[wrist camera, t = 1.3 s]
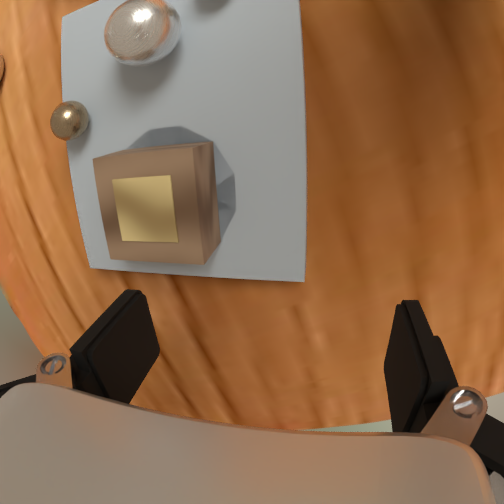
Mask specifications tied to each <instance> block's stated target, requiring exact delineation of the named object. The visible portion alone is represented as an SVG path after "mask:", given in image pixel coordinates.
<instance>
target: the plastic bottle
mask: <svg viewBox="0 0 504 504" xmlns="http://www.w3.org/2000/svg"><path fill="white" fill-rule="evenodd" d="M3 71H4V59H3V56H2V55H1V54H0V81H1V79H2V76H3Z"/></svg>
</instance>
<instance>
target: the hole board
mask: <svg viewBox="0 0 504 504" xmlns="http://www.w3.org/2000/svg"><path fill="white" fill-rule="evenodd" d="M126 1H127V0H100V1H97V2H95V3H92V4H90V5H88V6H85V7H83V8H81V9H78V10H76V11H74V12H72V13H70V14H68V15H66V16H64V17H62V33H61V74H62V97H63V102H66V101H71V100H73V101H78V102H80V103H82V104H83V105H84V106H85V107H86V109H87V111H88V114H89V122H88V126H87V128H86V130H85V131H84V133H83V134H82V135H81V136H79V137H78V138H76V139H74V140H69V141H66V142H67V151H68V158H69V166H70V172H71V179H72V185H73V191H74V196H75V202H76V207H77V212H78V217H79V222H80V227H81V231H82V236H83V240H84V244H85V249H86V253H87V257H88V261H89V265H90V268H96V269H108V270H120V271H133V272H146V273H159V274H173V275H188V276H203V277H219V278H236V279H254V280H273V281H293V282H304V281H305V272H306V247H307V131H306V98H305V74H304V55H303V38H302V24H301V10H300V0H166V1H167V2H169V3H170V4H171V5H172V6H173V7H174V8H175V9H176V11H177V12H178V14H179V16H180V20H181V34H180V38H179V40H178V43H177V44H176V46H175V48H174V49H173V50H172V51H171V52H170V54H169V55H167V56H166V57H165V58H164V59H162V60H160V61H159V62H157V63H154V64H151V65H148V66H142V67H134V66H128V65H125V64H122V63H120V62H118V61H117V60H115V59H114V58H113V57H112V56H111V55H110V53H109V52H108V50H107V48H106V46H105V42H104V28H105V25H106V22H107V20H108V18H109V16H110V15H111V13H112V12H113V11H114V10H115V9H116V8H117V7H118V6H119V5H121V4H122V3H124V2H126ZM211 141H213V147H214V162H215V175H216V189H217V201H218V214H219V226H220V237H221V242H220V244H219V245H218V246H217V248H216V249H215V251H214V252H213V253H212V255H211V256H210V257H209V259H208V260H207V262H206V263H205V264H204V265H197V264H179V263H161V262H144V261H128V260H112V259H110V255H109V250H108V246H107V241H106V237H105V232H104V227H103V222H102V216H101V211H100V205H99V200H98V194H97V188H96V181H95V174H94V167H93V160H92V159H94V158H97V157H100V156H104V155H107V154H110V153H114V152H117V151H121V150H127V149H135V148H143V147H152V146H162V145H172V144H184V143H196V142H211Z"/></svg>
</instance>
